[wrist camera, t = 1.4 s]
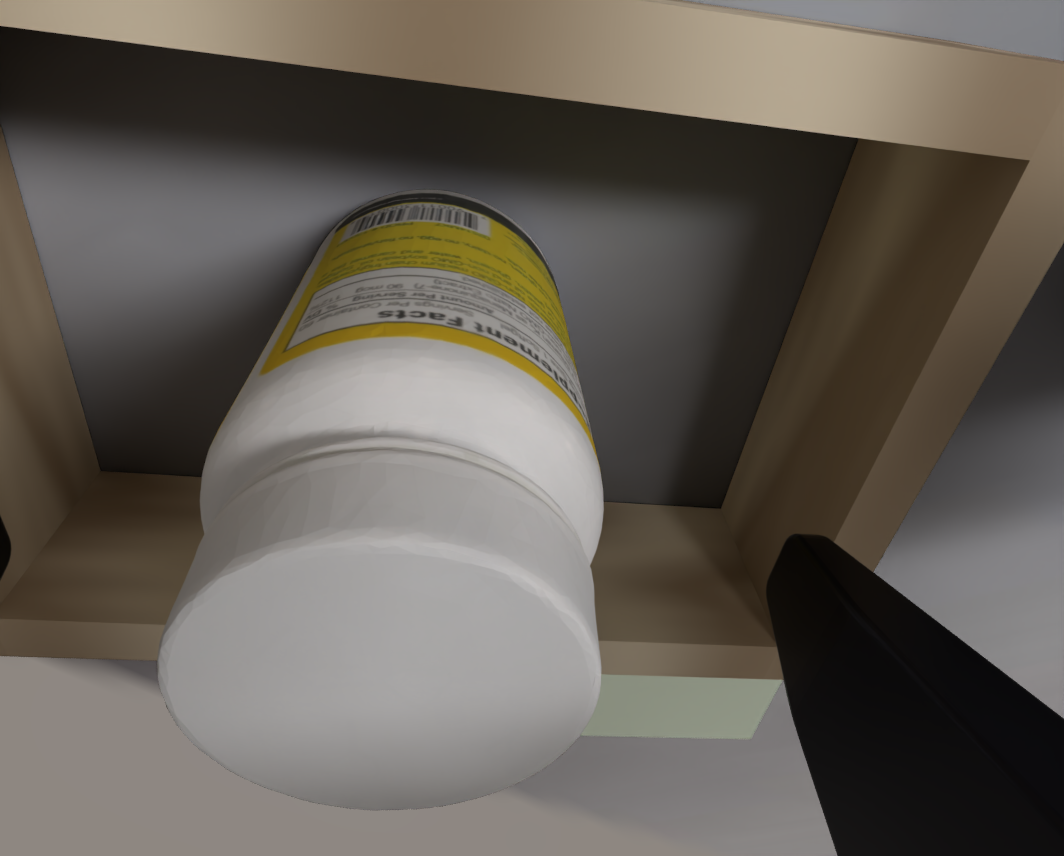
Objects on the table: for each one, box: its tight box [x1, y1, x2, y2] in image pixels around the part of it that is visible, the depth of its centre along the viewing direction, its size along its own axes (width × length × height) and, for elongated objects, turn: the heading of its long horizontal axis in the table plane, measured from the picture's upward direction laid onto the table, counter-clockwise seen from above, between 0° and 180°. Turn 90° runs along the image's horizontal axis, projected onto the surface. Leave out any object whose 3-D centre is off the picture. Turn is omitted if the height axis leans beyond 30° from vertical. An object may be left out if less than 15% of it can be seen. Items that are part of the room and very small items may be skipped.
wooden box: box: [0, 0, 1064, 680], centre depth 11 cm, size 16×11×4 cm
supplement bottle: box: [157, 189, 604, 810], centre depth 10 cm, size 5×5×8 cm
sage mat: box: [580, 674, 782, 739], centre depth 19 cm, size 7×7×1 cm
